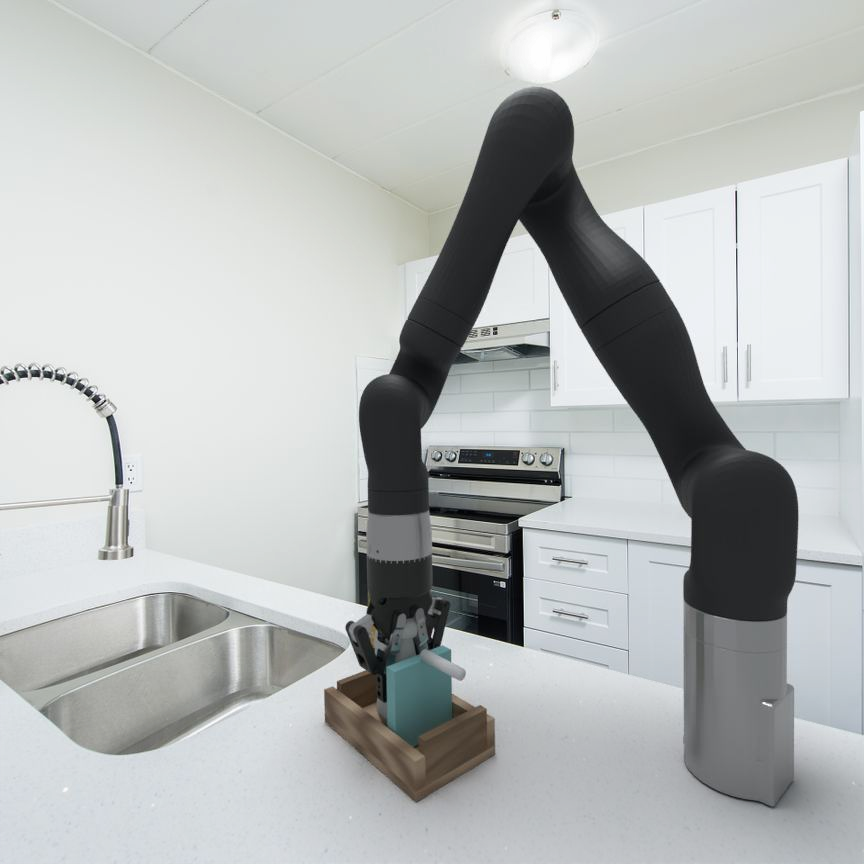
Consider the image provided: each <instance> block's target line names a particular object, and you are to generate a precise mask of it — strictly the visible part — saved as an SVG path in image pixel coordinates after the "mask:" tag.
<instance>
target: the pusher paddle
mask: <svg viewBox="0 0 864 864" xmlns="http://www.w3.org/2000/svg"><path fill="white" fill-rule="evenodd" d="M466 674H467V672H466V669H465V668H464V667H461V666H459V665H458V664H455V663H454V662H452V649H451V648H449V647H447V646H446V645H442V644H441V646H440V647H437V648H434V649H432V650H429V651H428V650H426V649H424V650H422V651H421V653H420V654H419V655H416V656H413V657H411V658H408V659H406V660H403V661H400V662H398V663H395V664H393V665H390V666H387V667H386V676H387V728H389V729H390V730H391V731H393V732H394V733H395V734H397V735H398V736H399V737H400V738H402V739H403V740H404V741H406V742H407V743H408V744H410V745H411V746H412V747H415V746H416V745H418V744H419V740H418V736H420V735H422V734H424V733H426V732H428V731H430V730H432V729H434V728H436V727H438V726H440V725H442V724H444V723H446V722H448V721H450V720H452V694H453V683H452V682H453V680H452V678H454V679H455V680H457V681H458V682H460V681H463V680H464V679H465V677H466Z"/></svg>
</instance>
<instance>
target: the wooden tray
mask: <svg viewBox="0 0 864 864" xmlns="http://www.w3.org/2000/svg"><path fill="white" fill-rule="evenodd" d="M323 692H324V693H323V695H324V696H323V698H324V701H323V702H324V723H326V724H327V725H328V726H329V727H330V728H331V729H332V730H333V731H335V732H336V733H337V734H338V735H339V736H340V737H341V738H343V740H345V741H346V742H347V743H348V744H349V745H351V747H353V749H355V750H356V751H357V752H358V753H359V754H361V755H362V756H363V757H364V758H365V759H366V760H367V761H369V763H371V764H372V765H373V766H375V768H377V769H378V770H379V771H380V772H381V773H383V775H384V776H386V777H387V778H388V779H389V780H390V781H391V782H392V783H394V784H395V785H396V786H397V787H398V788H399V789H400V790H401V791H402V792H403V793H404V794H406V795H407V796H408V797H410V798H411V799H412V801H414V802H415V803H417V802H419V801H421V800H422V799H424V798H425V797H428V796H429V795H430V794H432V793H434V792H436V791H437V790H438V789H440V788H442V787H444V786H446V785H447V784H448V783H449V784H450V783H451V782H452V781H454V780H455V779H457V778H458V777H460V776H462V775H464V774H466V773H467V772H469V771H471V770H472V769H473V768H475V767H476V766H478V765H480V764H482V763H483V762H484V761H486V760H488V759H489V758H491V757H492V756H494V755H496V729H495V728H496V727H495V725H496V721H495V720H496V719H495V717H494V716H491V715H490V714H488V708H486V707H485V706H483V705H481V704H479V705H478V706H474V705H473V704H471V703H469V702H468V701H466V700H464V699H462V698H460V697H459V696H457V695H455V694H453V693H452V720H450V721H448V722H446V723H444V724H442V725H440V726H438V727H436V728H434V729H432V730H430V731H428V732H426V733H424V734H422V735H420V736H418V740H419V744H418V745H416V746H415V747H412V746H411V745H410V744H408V743H407V742H406V741H404V740H403V739H402V738H400V737H399V736H398V735H397V734H395V733H394V732H393V731H391V730H390V729H389V728H387V727H386V726H385V725H383V723H382V721H381V719H380V717H379V715H378V712H377V708H376V703H377V696H376V682H375V675H373V674H371V673H370V672H368V671H367V670H365V669H364V670H363V671H360V672H358V673H355V674H352V675H350V676H346V677H344V678H342V679H339V680H336V687H335V686H334V685H332V686H330V687H327V688H324V689H323Z"/></svg>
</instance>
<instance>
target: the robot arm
mask: <svg viewBox="0 0 864 864" xmlns="http://www.w3.org/2000/svg"><path fill="white" fill-rule="evenodd" d="M574 145H575V126H574V119H573V115H572V113H571V110H570V107H569V105H568V104H567V102H566V100H565V99H564V97H561V95H560V94H558V93H557V92H556V91H554V90H552V89H551V88H548V87H543V86H529V87H524V88H521V89H519V90H516V91H514V92H513V93H511V94H510V95H509V96H507V97H506V98H505V99H504V100H503V101H502V102H500V104H499V106H498V107H497V108H496V110H495V111H494V112H493V114H492V116H491V118H490V120H489V122H488V126H487V129H486V132H485V135H484V138H483V140H482V144H481V147H480V150H479V153H478V156H477V160H476V163H475V166H474V168H473V171H472V175H471V178H470V181H469V183H468V186H467V189H466V191H465V194H464V197H463V200H462V202H461V204H460V207H459V209H458V212H457V214H456V217H455V219H454V221H453V224H452V226H451V229H450V230H449V233H448V235H447V238H446V240H445V242H444V243H443V247H442V248H441V251H440V252H439V255H438V257H437V259H436V261H435V263H434V265H433V266H432V269H431V271H430V273H429V275H428V277H427V279H426V281H425V283H424V284H423V286H422V289H421V290H420V292H419V294H418V297H417V298H416V300H415V302H414V304H413V305H412V307H411V310H410V311H409V314H408V315H407V317H406V320H405V322H404V324H403V326H402V328H401V331H400V334H399V340H398V341H399V342H398V343H399V351H398V353H397V355H396V357H395V360H394V362H393V365H392V367H391V369H390V371H389V373H388V374H381V375H380V376H377V377H375V378H373V379H372V380H371V381H369V383H368V384H367V385H365V388H364V389H363V391H362V393H361V396H360V399H359V406H358V426H359V434H360V439H361V446H362V451H363V456H364V457H363V458H364V461H365V464H366V465H365V466H366V469H367V510H368V512H367V523H366V530H365V531H366V535H365V537H366V574H367V575H366V579H367V581H366V584H367V585H366V586H367V593H368V592H369V596H370V602H369V605H368V604H367V608H366V613H365V615H364V616H362V617H361V618H360V619H358V620H356V621H354V620H349V621H347V622H346V623H345V629H344V630H345V631H346V634H347V637H348V639H349V642H350V645H351V647H352V649H353V652H354V655H355V657H356V659H357V662H358V666H360V667H361V668H362V669H364V671H365V670H367V671H368V672H370V673H371V674H373V675H375V682H376V696H377V698H378V699H379V700H381V701H382V702H384V703H385V702H387V676H386V667H387V666H390V665H393V664H394V663H395V657H396V654H398V653H399V651H400V644H401V638H402V632H403V629H404V627H405V623H406V619H410V618H413V619H414V621H415V623H416V626H417V636H416V637H414V638H413V641H414V645H415V651H416V655H419V654H420V653H421V651H422V650H424V649H426V650H428V651H429V650H432V649H434V648H437V647H440V646H442V642H443V637H444V634H445V629H446V626H447V625H446V624H447V622H448V617H449V612H450V609H451V602H450V601H449V600H446V599H445V598H442V597H440V596H436V595H432V594H431V590H432V588H433V586H434V585H433V583H434V582H433V541H432V540H433V537H432V536H433V535H432V533H433V532H432V531H433V530H432V523H431V516H430V492H429V491H430V490H429V489H430V487H429V485H430V484H429V473H428V468H427V465H426V464H425V462H424V461H423V456H422V455H423V454H422V453H423V452H422V451H423V450H422V428H424V426H425V425H426V424H427V423H428V421H429V420H430V418H431V416H432V414H433V412H434V410H435V408H436V406H437V404H438V402H439V399H440V396H441V394H442V391H443V389H444V387H445V384H446V381H447V379H448V376H449V373H450V370H451V368H452V366H453V364H454V362H455V361H456V359H457V357H458V356H459V354H460V353H461V351H462V348H463V347H464V345H465V343H466V341H467V340H468V338H469V335H470V334H471V331H472V329H474V326H475V325H476V321H477V320H478V319H479V316H480V314H481V313H482V309H484V304H485V303H486V300H487V298H488V296H489V295H488V294H489V292H490V290H491V287H492V284H493V282H494V279H495V275H496V273H497V270H498V267H499V265H500V261H501V260H502V257H503V254H504V252H505V249H506V247H507V244H508V242H509V240H510V238H511V236H512V233H513V231H514V230H515V227H516V225H517V223H518V221H519V222H520V223H521V225H522V226H523V227H524V229H525V230H526V232H527V233H528V234H529V236H530V237H531V239H532V240H533V242H535V244H536V245H537V247H538V249H539V250H540V251H541V254H542V255H543V257H544V260H545V261H546V264H547V265H548V267H549V270H550V271H551V273H552V277H553V278H554V280H555V284H556V286H557V287H558V289H559V291H560V293H561V295H562V297H563V299H564V300H565V303H566V305H567V306H568V309H569V311H570V313H571V314H572V316H573V318H574V320H575V323H576V324H577V326H578V327H579V329H580V331H581V333H582V334H583V336H584V338H585V340H586V342H587V343H588V345H589V347H590V349H591V350H592V351H593V353H594V355H595V357H596V358H597V360H598V361H599V363H600V364H601V365H602V368H603V369H604V370H605V373H606V374H607V375H608V377H609V378H610V380H611V382H612V383H613V385H614V386H615V387H616V388H617V390H618V391H619V393H620V394H621V396H622V397H623V399H624V400H625V401H626V403H627V404H628V406H629V407H630V408H631V410H632V411H633V412H634V413H635V415H636V416H637V418H638V419H639V420H640V422H641V423H642V426H643V427H644V428H645V430H646V431H647V433H648V436H649V437H650V439H651V441H652V443H653V445H654V447H655V449H656V451H657V453H658V455H659V458H660V460H661V462H662V464H663V466H664V469H665V471H666V474H667V475H668V478H669V480H670V482H671V485H672V487H673V489H674V492H675V494H676V497H677V499H678V501H679V503H680V506H681V507H682V509H683V511H685V513H686V514H687V516H688V518H690V519H691V521H690V522H691V525H690V526H691V528H690V529H691V530H690V531H691V533H690V534H691V535H690V563H689V567H688V569H687V571H685V573H684V576H683V580H682V581H683V583H682V584H683V585H682V587H683V588H682V589H683V591H682V593H683V596H682V597H683V736H682V737H683V738H682V739H683V741H682V742H683V760H684V763H685V765H686V767H687V769H688V770H689V771H690V773H692V775H693V776H695V778H697V780H699V781H700V782H702V783H704V784H705V785H707V786H708V787H710V788H712V789H714V790H716V791H718V792H720V793H723V794H726V795H728V796H731V797H735V798H740V799H743V800H749V801H755V802H756V801H757V802H761V803H763V804H765V805H767V806H769V807H774V806H776V804H777V803H778V801H779V800H780V799H781V797H782V796H783V795H784V793H785V792H786V791H787V789H788V788H789V786H790V785H791V784H792V783H793V781H794V779H795V687H794V685H792V684H790V683H787V682H788V681H787V680H788V674H787V673H788V599H789V596H790V594H791V592H792V591H793V588H794V586H795V582H796V578H797V577H796V575H797V565H798V563H797V560H798V542H799V539H798V538H799V500H798V499H799V498H798V492H797V489H796V486H795V485H796V484H795V482H794V480H793V478H792V476H791V475H790V473H789V472H788V470H787V469H786V468H785V467H784V466H783V465H782V464H781V463H779V461H776V459H774V458H772V457H770V456H768V455H766V454H763V453H761V452H757V451H752V450H747V448H745V446H743V444H742V443H741V442H740V441H739V439H738V438H737V437H736V435H735V434H734V433H733V432H732V430H731V429H730V427H729V426H728V424H727V423H726V421H725V420H724V418H723V417H722V416H721V414H720V412H719V411H718V410H717V408H716V407H715V405H714V403H713V401H712V400H711V398H710V395H709V393H708V391H707V389H706V386H705V384H704V380H703V377H702V374H701V370H700V367H699V363H698V360H697V356H696V352H695V350H694V346H693V342H692V340H691V336H690V333H689V331H688V328H687V326H686V323H685V322H684V320H683V318H682V316H681V314H680V312H679V310H678V308H677V307H676V305H675V303H674V302H673V300H672V298H671V297H670V295H669V294H668V292H667V291H666V288H665V286H664V285H663V283H662V282H661V279H660V278H659V277H658V275H657V274H656V273H655V271H654V270H653V269H652V267H651V266H650V265H649V263H648V262H647V261H646V260H645V259H644V258H643V257H642V256H641V255H640V254H639V253H638V252H637V251H636V250H635V249H634V247H632V246H631V245H630V244H629V243H627V242H626V241H625V239H623V238H622V237H620V235H618V233H616V232H615V231H614V230H613V229H612V228H611V227H610V226H608V224H607V223H606V222H605V221H604V220H603V218H602V217H601V216H600V215H599V213H598V212H597V210H596V208H595V207H594V205H593V203H592V202H591V200H590V198H589V195H588V194H587V191H586V189H585V188H584V186H583V183H582V182H581V179H580V177H579V175H578V173H577V170H576V168H575V164H574V162H573V154H574V153H573V152H574ZM372 625H373V626H374V627H375V628H376V631H375V637H374V646H375V651H374V649H373V646H372V643H371V641H370V638H372V634H371V627H372ZM386 639H388V640H390V642H389V641H387V640H386Z"/></svg>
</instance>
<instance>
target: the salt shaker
mask: <svg viewBox="0 0 864 864" xmlns="http://www.w3.org/2000/svg"><path fill="white" fill-rule="evenodd" d="M416 636H417V626H416V623H415V621H414V619H413V618H410V619H406V623H405V627H404V629H403V632H402V638H401V644H400V651H399V653H398V654H396V657H395V663H398V662H400V661H403V660H406V659H408V658H411V657H413V656H416V651H415V645H414V641H413V638H414V637H416ZM387 641H389V642H390V640H388V639H387ZM395 663H394V664H395ZM376 708H377V712H378V715H379V717H380V719H381V721H382V723H383V725H385V726H386V727H387V702H385V703H384V702H382V701H381V700H379V699H378V698H377V703H376Z"/></svg>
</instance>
